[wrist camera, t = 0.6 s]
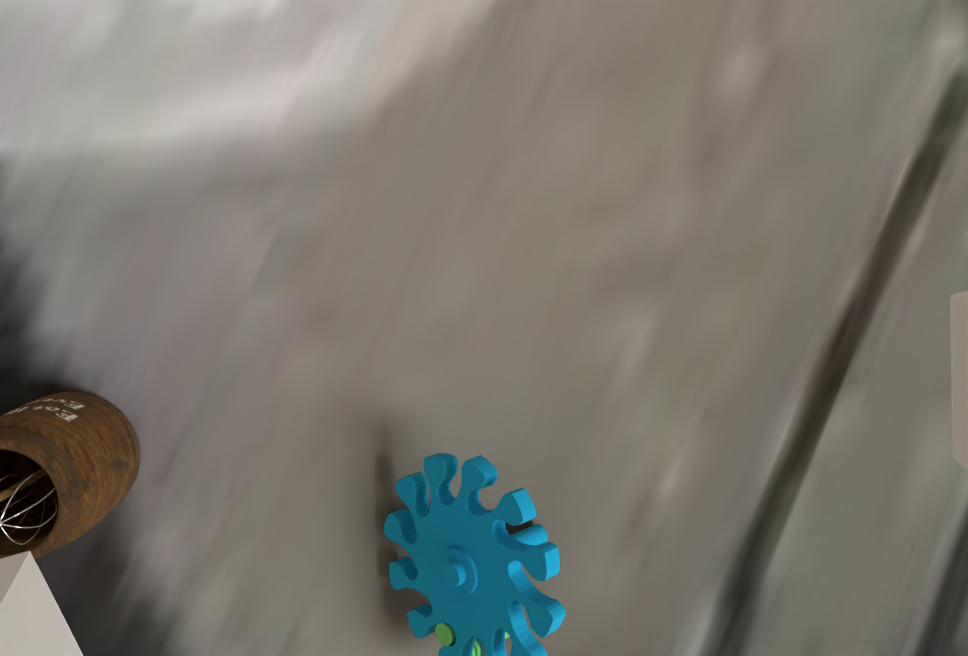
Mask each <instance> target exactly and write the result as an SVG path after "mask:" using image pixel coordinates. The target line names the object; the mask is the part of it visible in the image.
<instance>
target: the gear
mask: <svg viewBox="0 0 968 656" xmlns="http://www.w3.org/2000/svg"><path fill="white" fill-rule="evenodd" d="M423 465H424V471H425V474H426V476H427V479H428V482H429V486H430V493H431V502H430V507H429V505H428V502H427V493H428V482H427V479H426V477H425V475H424V474H423V473H422V472H418V473H415V474H412V475H409V476H406V477H403V478H401V479H400V480H399V481H398V482H397V483H396V484H395V489H396V492H397V494H398V496H399V498H400V499H401V500H402V501H403V502H404V503H405V505H406V506H407V507H408V509H409V511H410V513H411V514H410V513H409V512H408V511H407V510H406V509H401V510H398V511H395V512H392V513H390V514H389V515H388V517H387V519H386V521H385V525H384V529H383V531H384V533H385V535H386V537H387V538H388V539H389V540H391V541H394V542H396V543H398V544H400V545H401V546H402V547H403V548H404V549H405V550H406V551H407V552H408V553H409V555H410V556H411V557H412V559H413V561H414V562H415V563H414V562H413V561H412V560H411V559H410V558H409V557H403V558H401V559H398V560H396V561H393V562H391V563H390V564H389V577H390V584H391V586H392V587H393V588H394V589H395V590H401V589H404V588H412V589H415V590H417V591H419V592H420V593H422V594H423V595H425V596H426V597H427V598H428V599H429V601H430V603H431V606H430V605H428V604H423V605H421V606H419V607H417V608H415V609H413V610H411V611H409V612H408V614H407V617H408V621H409V624H410V626H411V629H412V631H413V633H414V635H415V637H416V638H418V639H421V638H423V637H425V636H427V635H429V634H431V633H433V632H435V634H436V637H437V639H438V641H439V642H440V643H441V644H442V645H443V646H444V647H442V648H441V649H440V651H439V656H507V654H506V649H505V639H506V638H508V637H509V636H510V639H511V642H512V648H511V655H510V656H547V653H546V651H545V649H544V647H543V646H542V645H541V644H540V643H539V642H538V641H537V639H536V638H535V637H534V635H533V634H532V632H531V630H530V629H529V627H528V624H527V622H526V619H525V616H524V612H523V609H522V605H523V606H524V607H525V609H526V611H527V614H528V618H529V622H530V625H531V627H532V629H533V630H534V632H535V633H536V634H537V635H538V636H540V637H542V638H544V637H545V636H547V635H549V634H550V633H552V632H554V631H555V630H557V629H558V628H559V627H560V625H561V624H562V622H563V619H564V617H565V613H566V611H565V608H564V607H563V605H562V604H561V603H560V602H559V601H557V600H555V599H553V598H550V597H548V596H546V595H544V594H543V593H541V592H540V591H539V590H538V589H537V588H536V587H535V586H534V585H533V584H532V583H531V582H530V580H529V579H528V577H527V576H526V575H525V573H524V572H523V569H522V566H521V563H522V564H523V565H524V567H525V568H526V569H527V571H528V572H529V574H530V575H531V576H532V577H533V578H534V579H536V580H538V581H545V580H547V579H549V578H551V577H553V576H555V575H556V574H558V573H559V567H560V561H559V552H558V547H557V546H556V545H555V544H553V543H551V542H547V540H548V534H547V531H546V530H545V528H544V527H543V526H542V525H540V524H535V525H533V526H530V527H528V528H526V529H524V530H521V531H519V532H517V533H515V534H512V535H509V534H508V532H507V530H506V527H505V522H506V523H508V524H510V525H512V526H518V525H520V524H522V523H525V522H527V521H529V520H531V519H533V518H534V517H535V516H536V510H535V507H534V504H533V502H532V500H531V498H530V496H529V494H528V493H527V491H526V489H523V488H521V489H518V490H515V491H512V492H510V493H507V494H505V495H503V497H502V498H501V500H500V502H499V504H498V505H497V507H496V508H495V509H494V510H486V509H485V508H484V507H483V506H482V505H481V503H480V501H479V491H480V489H482V488H484V487H487V486H490V485H493V484H494V483H495V482H496V480H497V477H498V471H497V470H496V468H495V467H494V466H493V465H492V464H491V463H490V462H489V461H488V460H487V459H485V458H484V457H482V456H481V455H480V456H477V457H474V458H471V459H468V460H466V461H465V462H464V463H463V466H462V483H461V488H460V491H459V494H458V496H457V497H456V499H455V498H454V497H453V496H452V494H451V491H450V483H451V481H452V479H453V478H454V477H455V475H456V474H457V471H458V462H457V459H456V457H454V456H453V455H450V454H445V453H438V454H435V455H432V456H429V457H425V458H424V463H423ZM411 515H412V516H411ZM414 524H415V525H414ZM415 528H416V529H415ZM415 564H416V565H415Z"/></svg>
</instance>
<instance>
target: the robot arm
mask: <svg viewBox="0 0 968 656" xmlns="http://www.w3.org/2000/svg"><path fill="white" fill-rule="evenodd" d="M950 297H951V398H952V459H954V460H955V461H957V462H958V463H959V464H961V465H962V466H963V467H965V468H966V469H968V291H964V292H961V293H957V294H953V295H950ZM0 656H83V654H82V652H81V650H80V648H79V646H78V644H77V642H76V640H75V638H74V636H73V634H72V632H71V630H70V628H69V627H68V625H67V623H66V621H65V619H64V617H63V615H62V613H61V611H60V609H59V607H58V605H57V603H56V601H55V599H54V597H53V595H52V593H51V591H50V589H49V587H48V585H47V583H46V581H45V579H44V577H43V575H42V574H41V572H40V570H39V568H38V566H37V564H36V562H35V560H34V558H33V556H32V554H31V552H30V551H27V552H23V553H20V554H16V555H12V556H9V557H5V558H2V559H0Z"/></svg>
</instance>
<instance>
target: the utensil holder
mask: <svg viewBox="0 0 968 656" xmlns="http://www.w3.org/2000/svg"><path fill="white" fill-rule="evenodd" d="M139 465H140V446H139V441H138V438H137V435H136V432H135V430H134V428H133V426H132V424H131V423H130V421H129V420H128V419H127V417H126V416H125V415H124V414H123V413H122V412H121V411H120V410H119V409H118V408H117V407H115V406H114V405H113V404H111V403H110V402H108V401H106V400H104V399H102V398H100V397H98V396H95V395H92V394H88V393H82V392H61V393H55V394H51V395H47V396H44V397H41V398H39V399H36V400H34V401H32V402H29V403H27V404H25V405H23V406H21V407H18V408H16V409H14V410H12V411H10V412H8V413H6V414H4V415H2V416H0V559H2V558H5V557H9V556H12V555H16V554H20V553H23V552H27V551H30V552H31V554H32V556H33V558H34V560H35V559H37V558H39V557H42V556H44V555H46V554H48V553H50V552H51V551H53V550H54V549H56V548H59V547H61V546H64V545H66V544H68V543H70V542H72V541H74V540H76V539H77V538H79V537H81V536H82V535H83V534H85V533H86V532H87V531H89V530H90V529H91V528H92V527H94V526H95V525H96V524H97V523H98V522H99V521H100V520H102V519H103V518H104V517H105V516H106V515H107V514H108V513H109V512H110V511H112V510H113V509H114V508H115V507H116V506H117V505H118V504H119V503H120V502H121V500H122V499H123V498H124V497H125V496H126V495H127V493H128V492H129V490H130V489H131V487H132V485H133V483H134V481H135V479H136V477H137V474H138V470H139Z"/></svg>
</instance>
